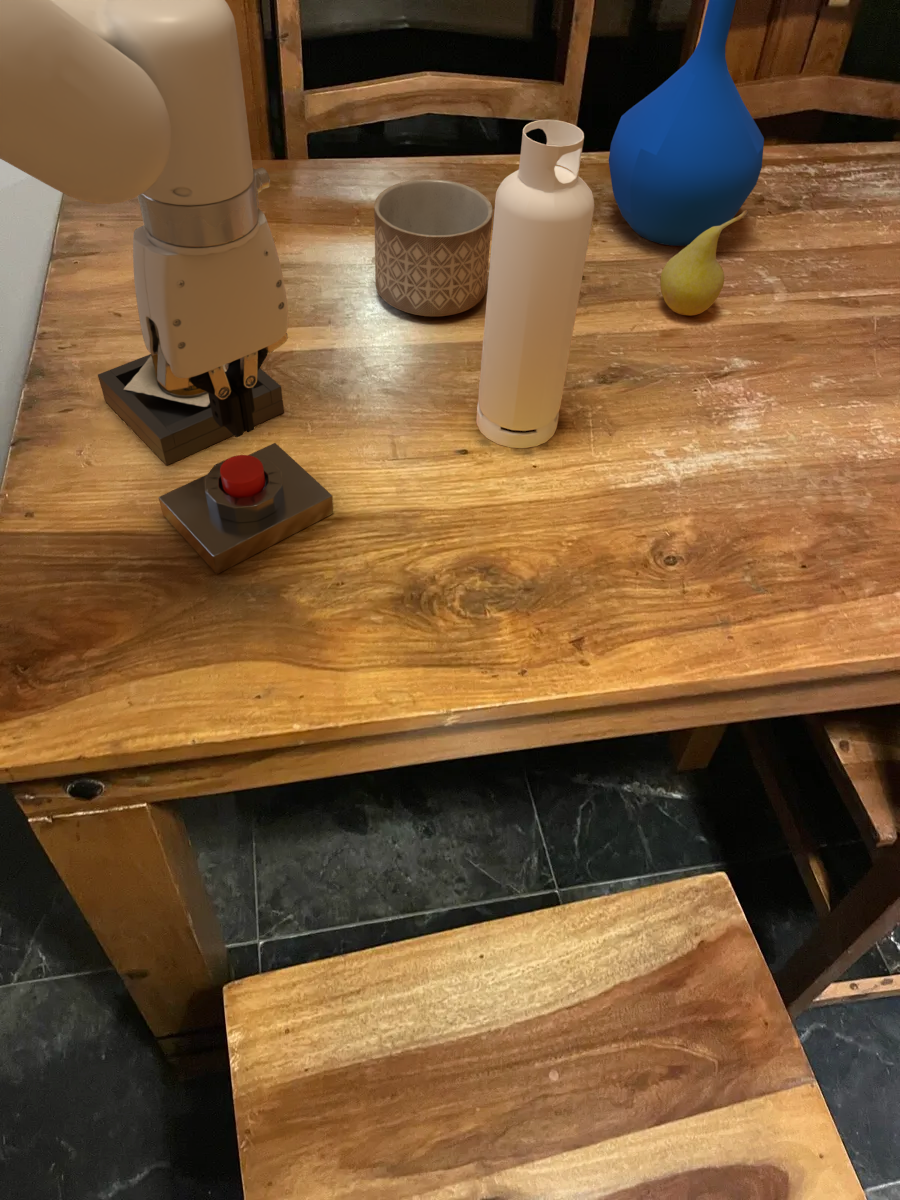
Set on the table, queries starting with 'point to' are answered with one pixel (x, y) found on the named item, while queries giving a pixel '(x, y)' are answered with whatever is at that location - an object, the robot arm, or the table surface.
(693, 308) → the fruit
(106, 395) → the tray
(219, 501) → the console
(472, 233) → the planter
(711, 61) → the vase
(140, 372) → the condiment
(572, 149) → the bottle
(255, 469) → the button
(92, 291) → the table surface
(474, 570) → the table surface
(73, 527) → the table surface
